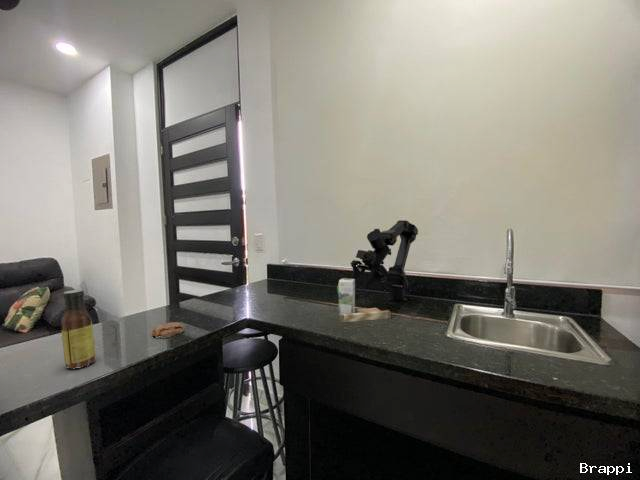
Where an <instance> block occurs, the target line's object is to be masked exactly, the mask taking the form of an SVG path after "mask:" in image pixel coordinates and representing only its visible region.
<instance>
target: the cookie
mask: <svg viewBox="0 0 640 480" xmlns="http://www.w3.org/2000/svg"><path fill="white" fill-rule="evenodd" d="M182 331H183V332H184V331H185V329H184V326H183V324H182V323H181V322H176V321H174V322H173V321H171V322H166V323H162V324H159V325H158V326H156V327H154V328H153V329H152V331H151V336H152V337H153V336H155V337H158V336H161V337H167V336H171V335H174V334H177V333H181V332H182Z"/></svg>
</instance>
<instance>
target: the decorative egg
mask: <svg viewBox="0 0 640 480" xmlns="http://www.w3.org/2000/svg"><path fill="white" fill-rule="evenodd" d="M341 279H349V278H348V277H342V278H341ZM336 293H337V296H338V297H339V282H338V284H337V287H336Z"/></svg>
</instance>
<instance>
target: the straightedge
mask: <svg viewBox="0 0 640 480" xmlns="http://www.w3.org/2000/svg"><path fill="white" fill-rule="evenodd" d="M338 318H339V322H340V323H342V324H343V323H351V322H364V321H375V320H383V319H384V320H385V319H391V311H390V310H389V309H386V310H380V311H374V312H362V313H358V312H355V313H350V314H339V313H338Z"/></svg>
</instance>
